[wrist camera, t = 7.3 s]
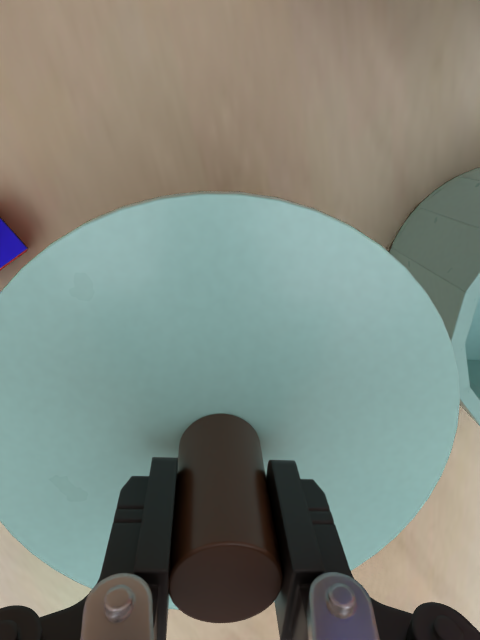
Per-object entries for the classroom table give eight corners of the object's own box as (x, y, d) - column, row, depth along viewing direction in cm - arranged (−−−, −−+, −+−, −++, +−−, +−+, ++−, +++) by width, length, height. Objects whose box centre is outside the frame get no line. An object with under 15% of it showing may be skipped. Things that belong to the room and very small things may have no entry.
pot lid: (6, 584, 18) (-85, 789, 12) (-62, 164, 12) (-305, 191, 6) (389, 581, 19) (463, 762, 14) (502, 210, 13) (717, 264, 8)
